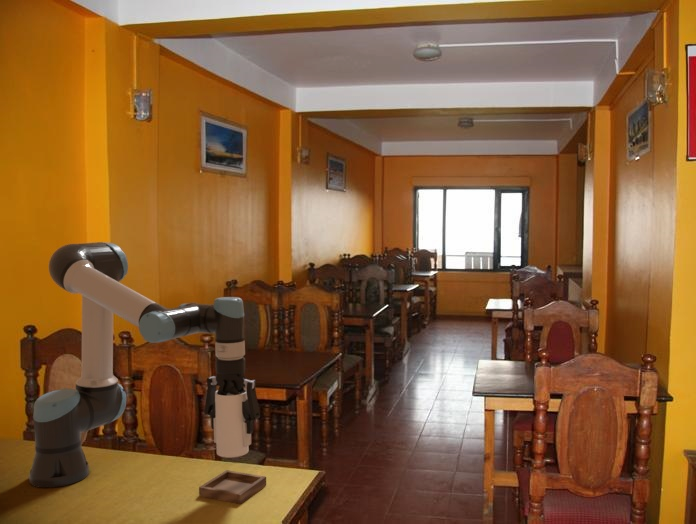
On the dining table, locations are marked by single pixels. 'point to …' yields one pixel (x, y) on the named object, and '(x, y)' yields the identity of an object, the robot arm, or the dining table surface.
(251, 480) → the square wooden tray
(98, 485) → the dining table surface
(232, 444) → the cup
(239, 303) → the robot arm
